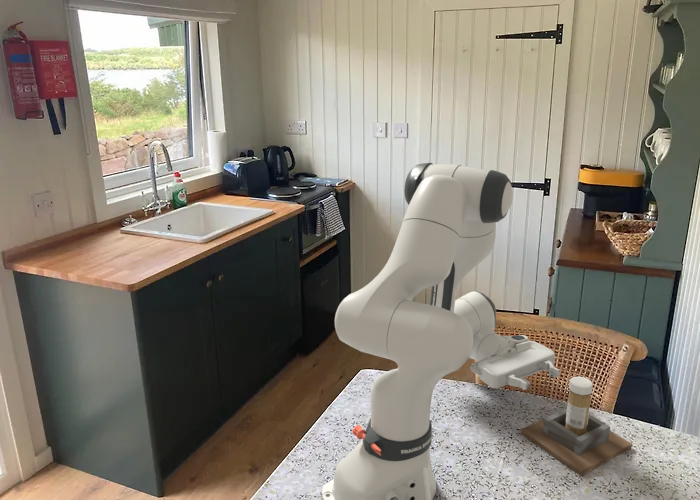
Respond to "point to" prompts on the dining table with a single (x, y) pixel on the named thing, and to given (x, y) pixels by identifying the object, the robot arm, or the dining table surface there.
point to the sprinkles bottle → (578, 405)
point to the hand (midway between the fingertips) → (542, 380)
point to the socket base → (576, 442)
